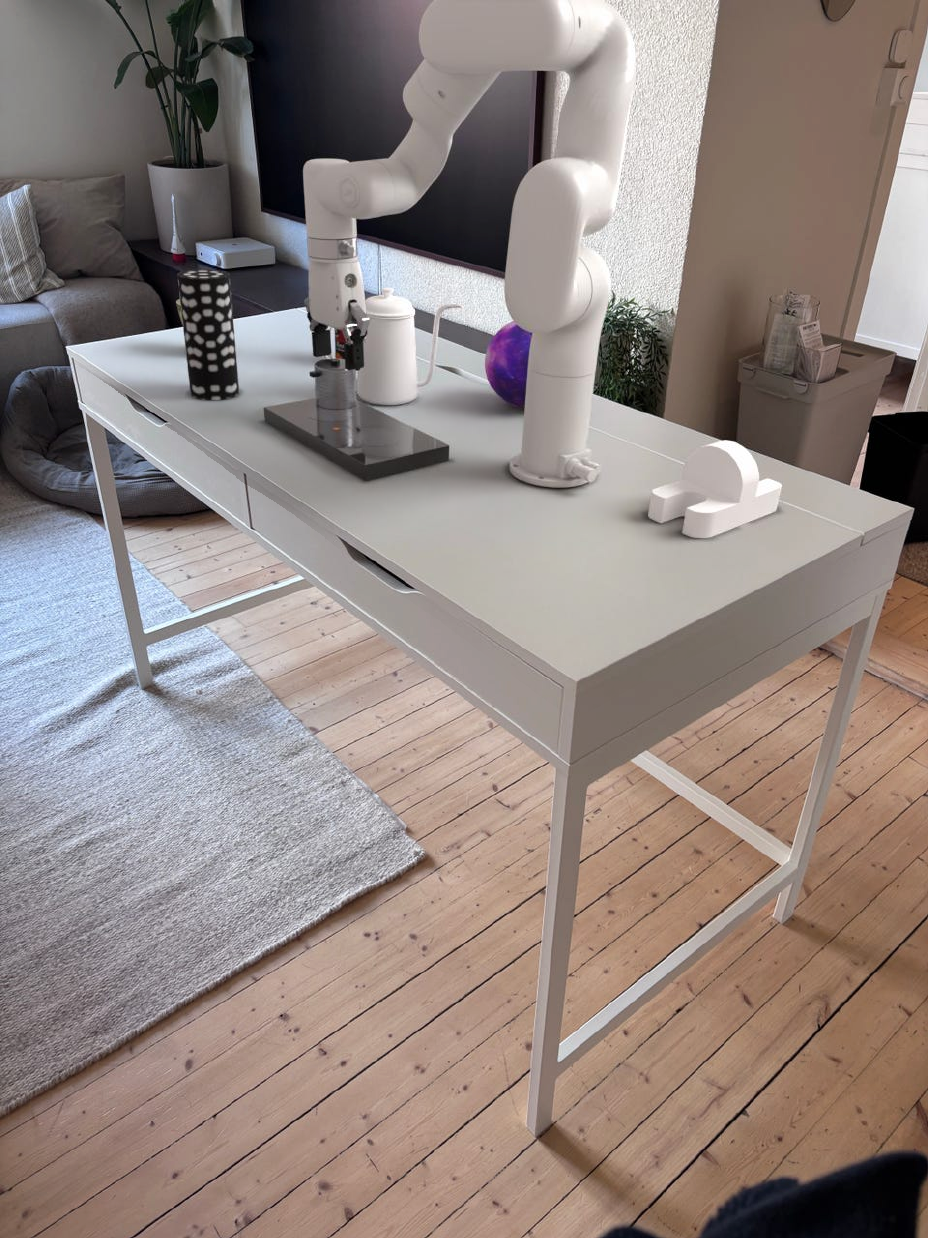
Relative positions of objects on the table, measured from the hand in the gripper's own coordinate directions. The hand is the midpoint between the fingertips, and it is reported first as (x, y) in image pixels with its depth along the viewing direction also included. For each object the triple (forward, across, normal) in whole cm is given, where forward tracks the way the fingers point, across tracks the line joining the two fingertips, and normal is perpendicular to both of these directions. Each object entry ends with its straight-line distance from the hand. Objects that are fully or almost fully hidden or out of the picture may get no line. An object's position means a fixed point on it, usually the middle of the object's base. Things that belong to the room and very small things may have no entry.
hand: (338, 361), depth 151 cm
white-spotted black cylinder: (+9, +23, +11) cm, 27 cm away
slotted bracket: (+12, -60, -23) cm, 65 cm away
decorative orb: (+10, -11, -32) cm, 35 cm away
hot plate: (+10, -10, +4) cm, 14 cm away
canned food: (+9, +27, -21) cm, 36 cm away
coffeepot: (+10, +5, -14) cm, 18 cm away
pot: (+7, +1, 0) cm, 7 cm away
